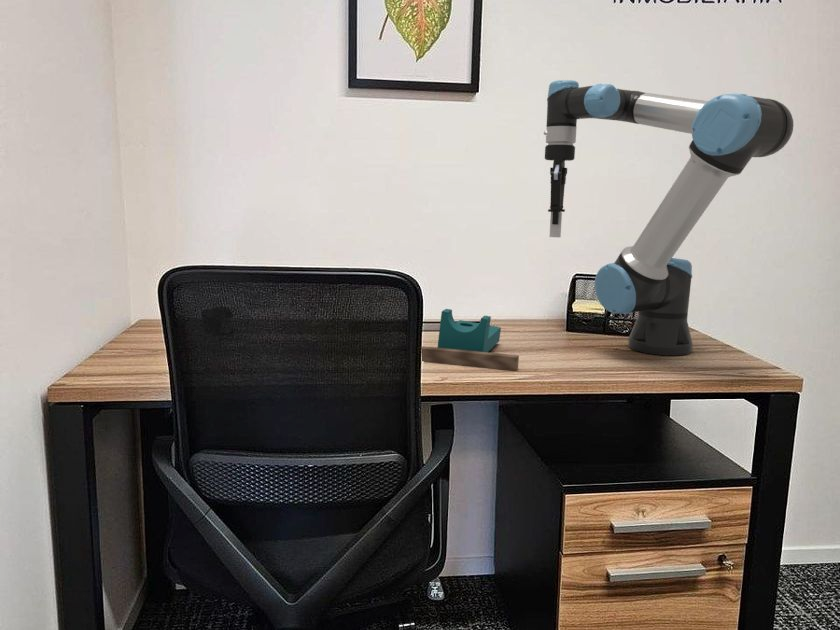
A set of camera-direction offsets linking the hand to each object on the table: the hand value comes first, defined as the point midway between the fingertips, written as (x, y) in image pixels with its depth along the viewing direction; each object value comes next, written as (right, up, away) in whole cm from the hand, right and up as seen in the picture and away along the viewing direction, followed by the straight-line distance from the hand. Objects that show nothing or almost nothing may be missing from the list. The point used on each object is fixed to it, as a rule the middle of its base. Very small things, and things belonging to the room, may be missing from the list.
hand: (555, 237), depth 181 cm
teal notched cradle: (-24, -29, -13) cm, 40 cm away
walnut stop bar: (-25, -32, -27) cm, 48 cm away
